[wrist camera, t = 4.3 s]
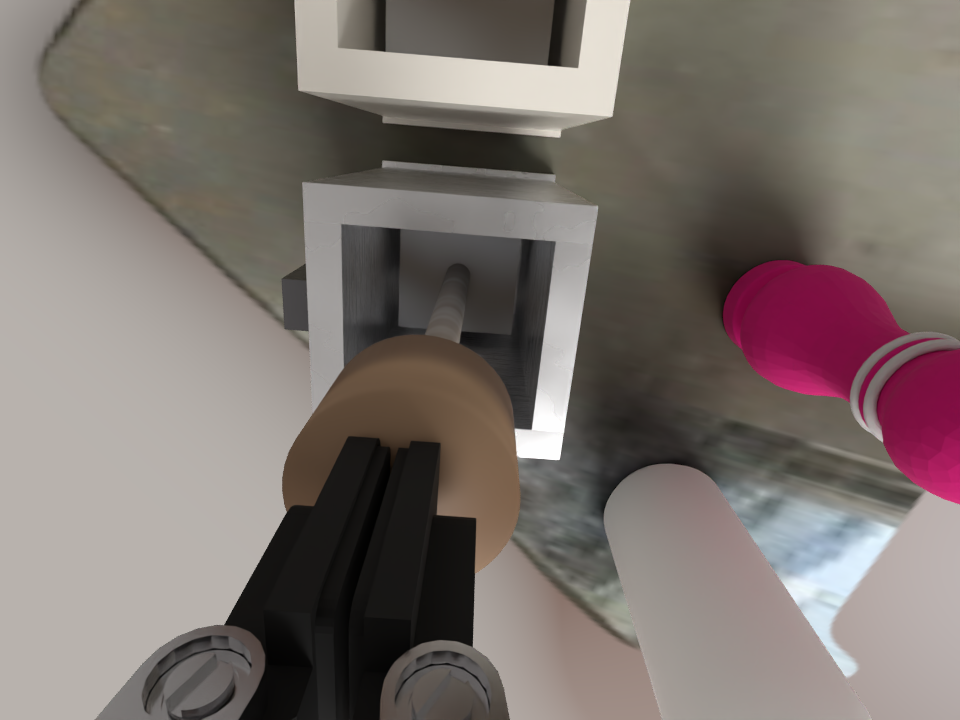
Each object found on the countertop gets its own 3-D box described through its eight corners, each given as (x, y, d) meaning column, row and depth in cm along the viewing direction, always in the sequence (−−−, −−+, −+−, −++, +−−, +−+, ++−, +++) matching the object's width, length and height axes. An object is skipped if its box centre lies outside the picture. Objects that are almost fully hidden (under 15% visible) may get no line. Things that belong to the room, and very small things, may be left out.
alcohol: (692, 437, 38) (1243, 1226, 10) (736, 525, 41) (1263, 1336, 13) (581, 488, 40) (792, 1280, 12) (630, 569, 43) (894, 1367, 15)
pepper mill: (691, 328, 35) (917, 531, 17) (763, 230, 33) (1122, 338, 14) (777, 377, 36) (1080, 618, 18) (853, 286, 34) (1294, 453, 15)
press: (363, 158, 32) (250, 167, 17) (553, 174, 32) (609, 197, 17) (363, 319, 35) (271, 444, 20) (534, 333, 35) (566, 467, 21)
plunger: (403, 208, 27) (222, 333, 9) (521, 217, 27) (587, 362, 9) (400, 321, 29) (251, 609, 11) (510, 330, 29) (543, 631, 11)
